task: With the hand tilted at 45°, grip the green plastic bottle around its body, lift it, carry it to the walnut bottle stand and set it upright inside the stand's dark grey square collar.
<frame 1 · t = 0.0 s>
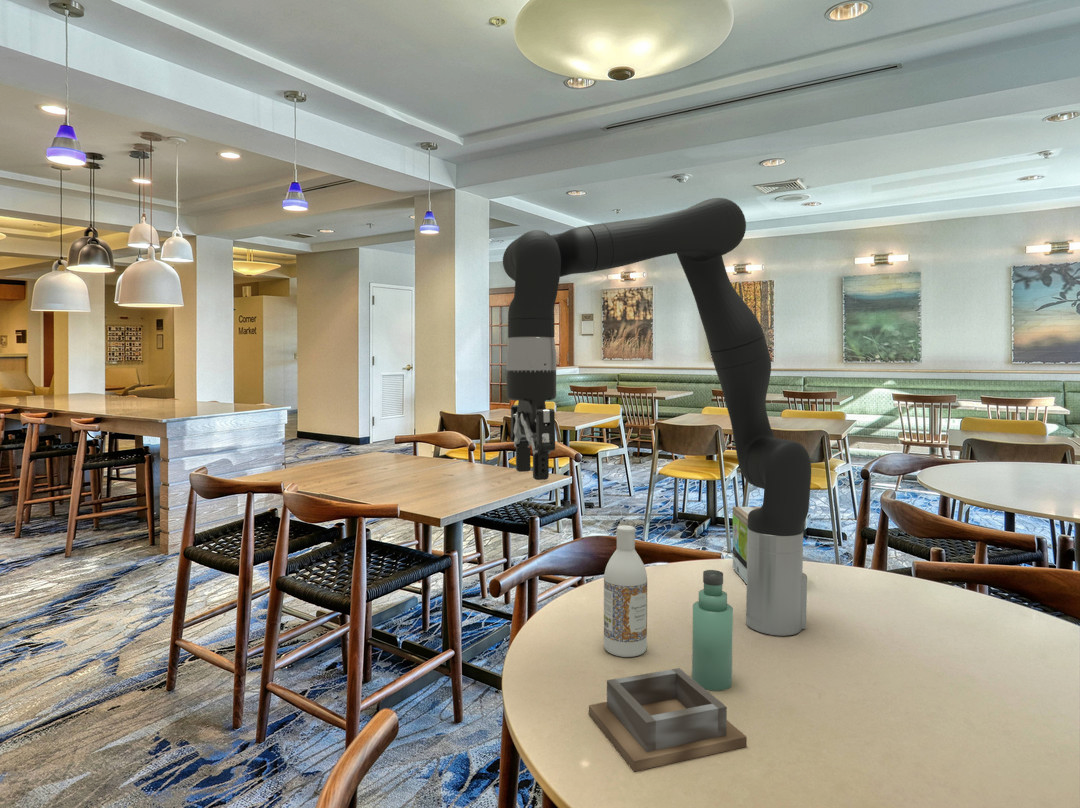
hand: (531, 475, 98), 29 cm above the table, tool pointing down, fingers open, 8 cm apart
green bottle: (711, 681, 94), on the table
bottle stand: (664, 729, 81), on the table
tea box: (763, 580, 140), on the table
bath foam: (625, 650, 105), on the table
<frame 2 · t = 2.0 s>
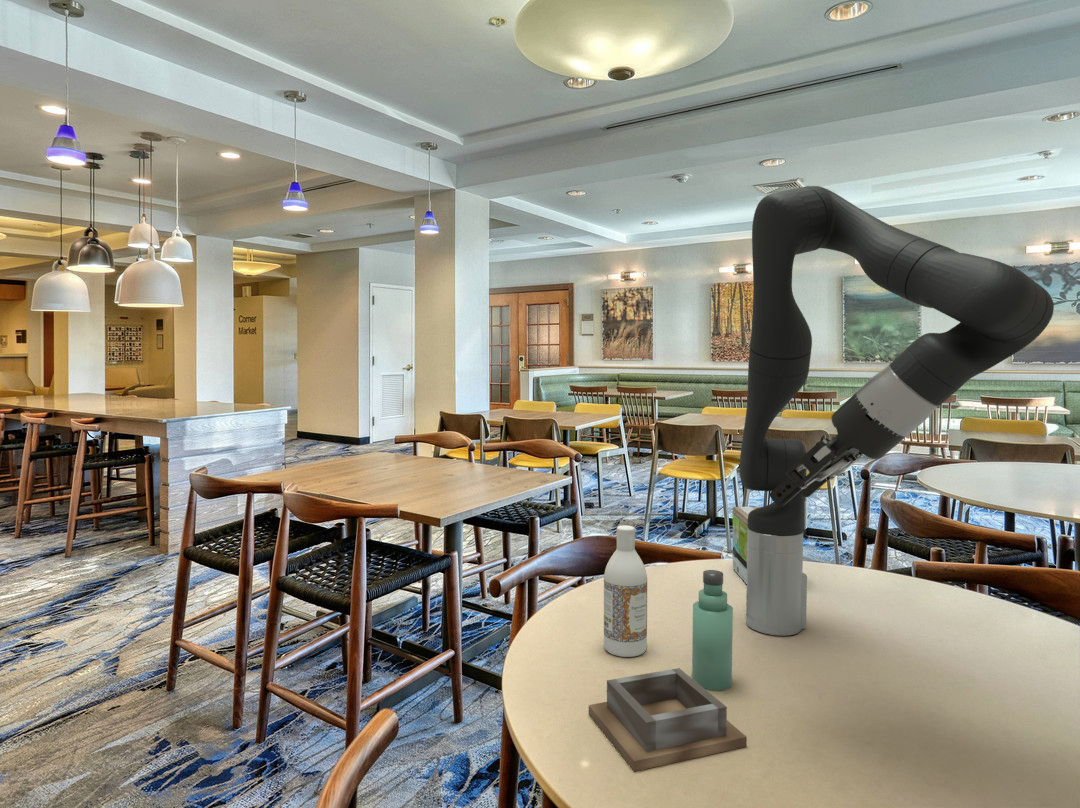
hand: (788, 496, 86), 28 cm above the table, tool tilted 45°, fingers open, 8 cm apart
nothing on the table moved.
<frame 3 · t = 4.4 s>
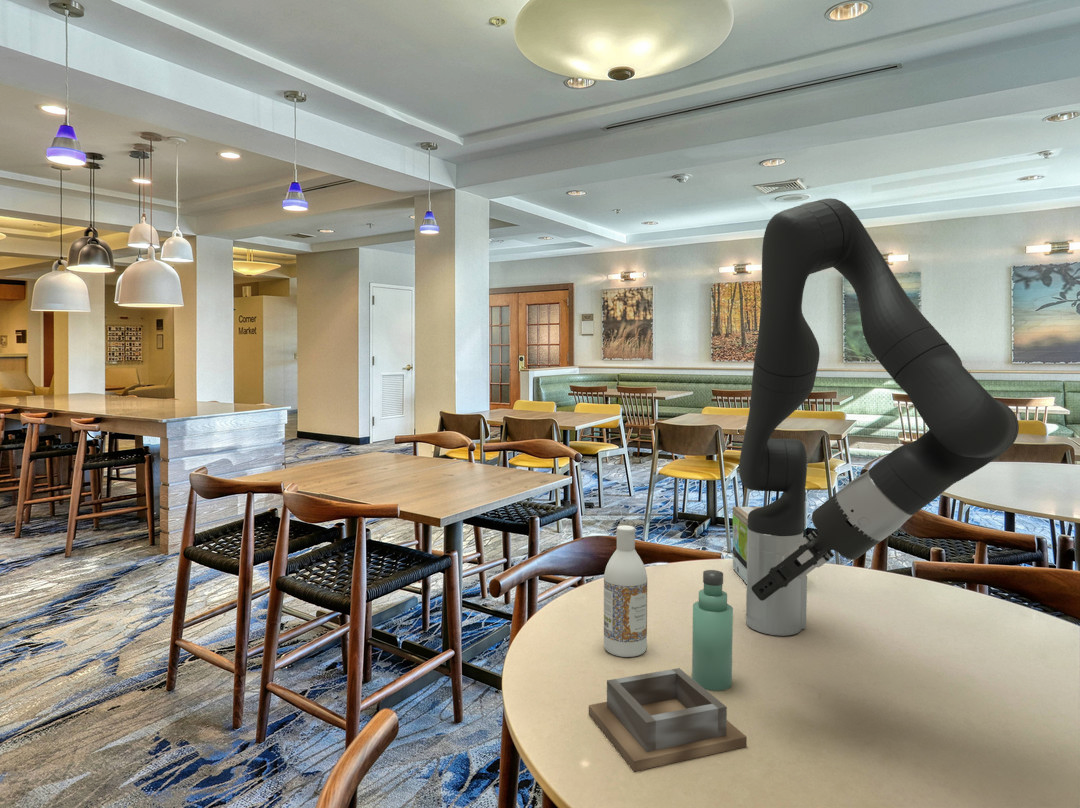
hand: (767, 585, 88), 16 cm above the table, tool tilted 45°, fingers open, 8 cm apart
nothing on the table moved.
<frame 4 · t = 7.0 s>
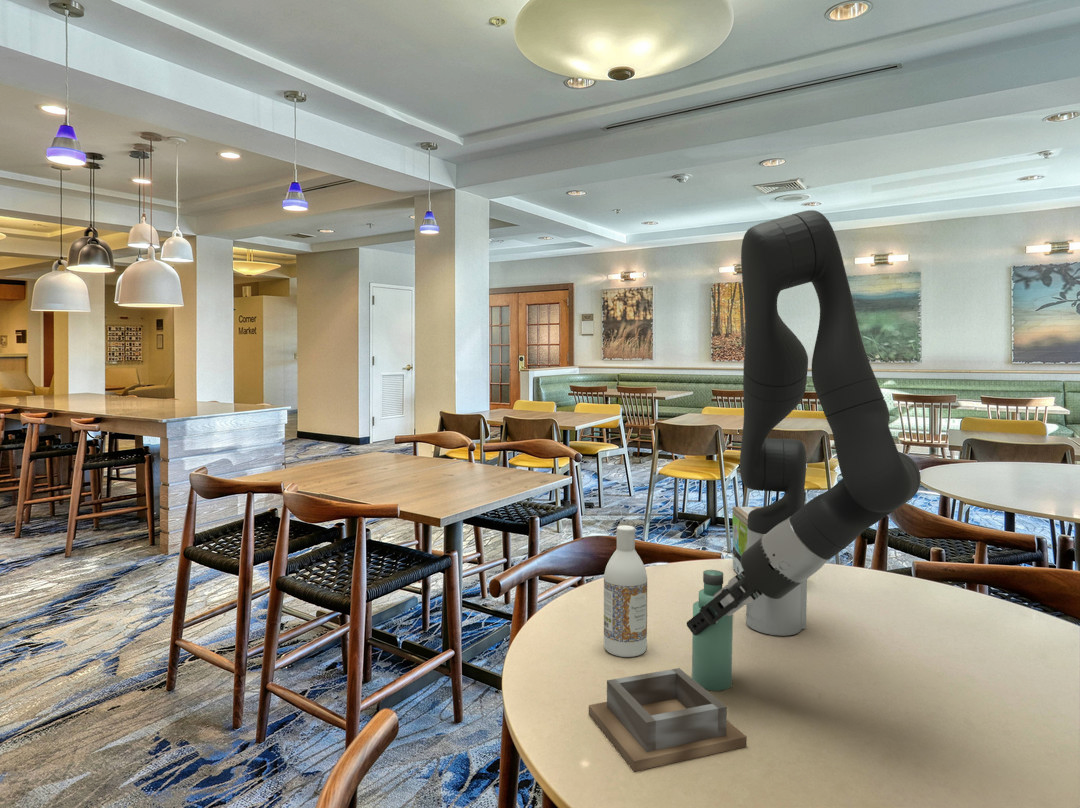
hand: (700, 622, 95), 8 cm above the table, tool tilted 45°, fingers closed on green bottle, 5 cm apart
green bottle: (711, 681, 94), on the table, touching gripper
everything else where it was.
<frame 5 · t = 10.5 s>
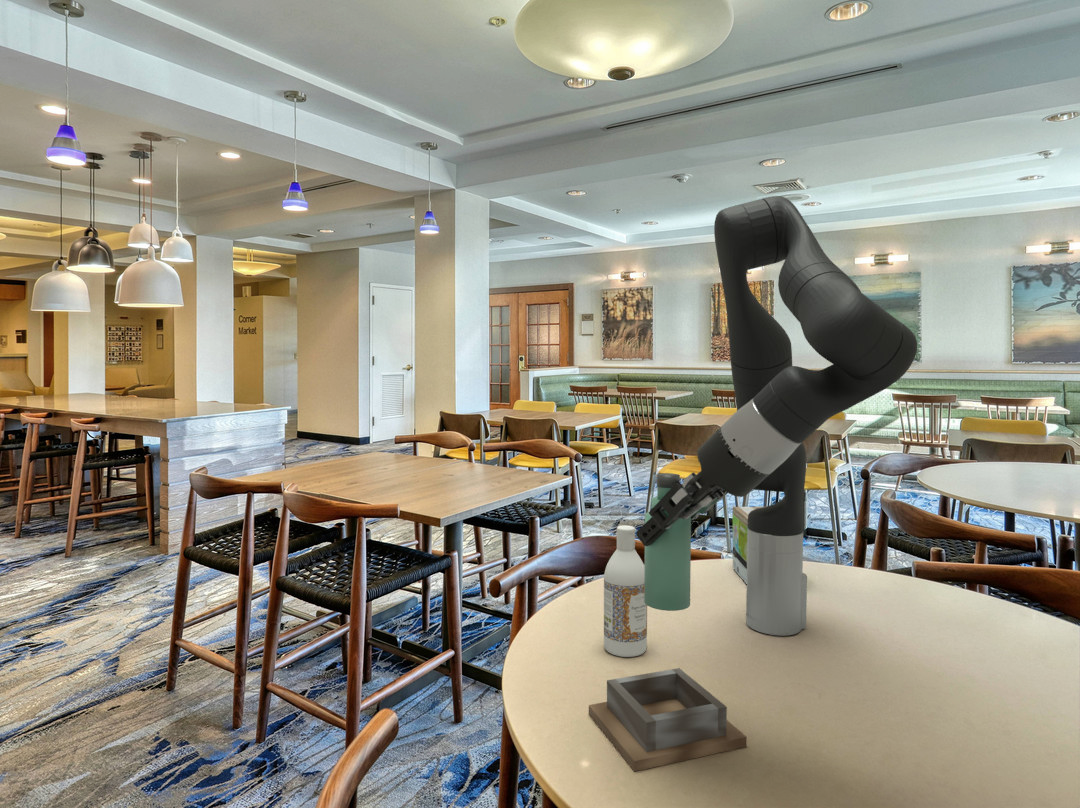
hand: (654, 534, 81), 24 cm above the table, tool tilted 45°, fingers closed on green bottle, 5 cm apart
green bottle: (667, 602, 81), point 16 cm above the table, touching gripper
everything else where it was.
when the fingers open (11 cm above the table, at t = 14.3 s): green bottle drops 1 cm, resting on bottle stand.
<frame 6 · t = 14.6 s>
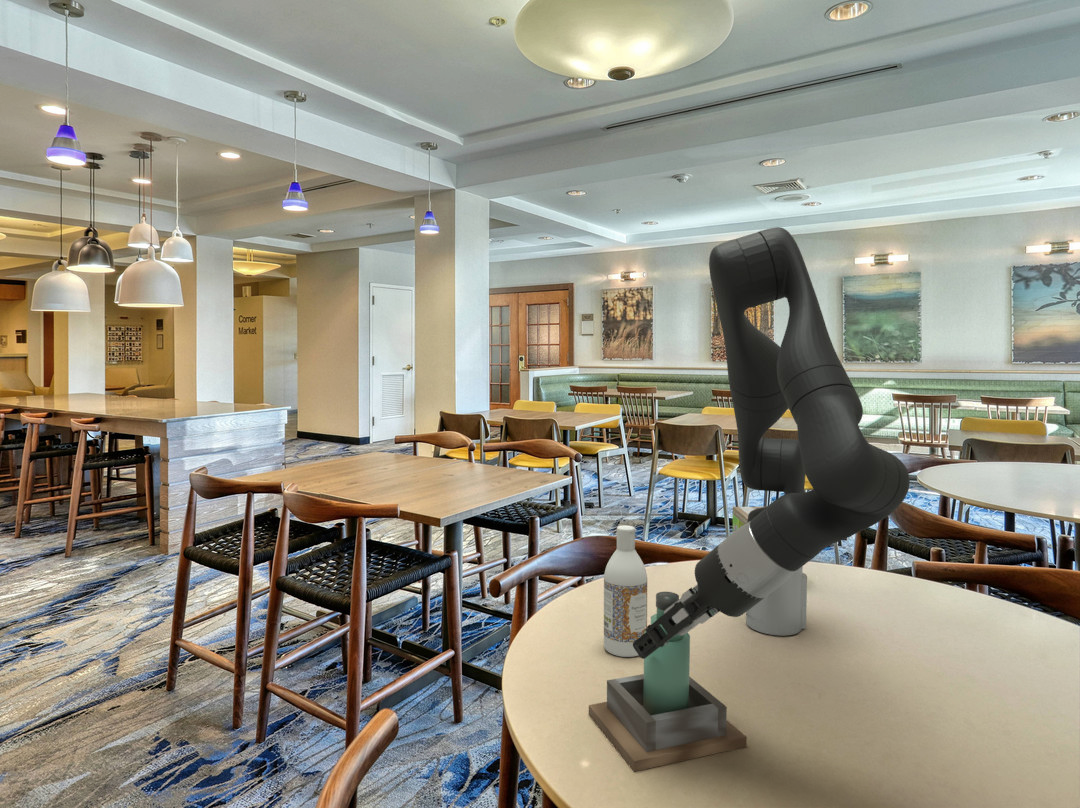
hand: (654, 640, 82), 11 cm above the table, tool tilted 45°, fingers open, 8 cm apart
green bottle: (665, 720, 81), point 1 cm above the table, touching bottle stand
everything else where it was.
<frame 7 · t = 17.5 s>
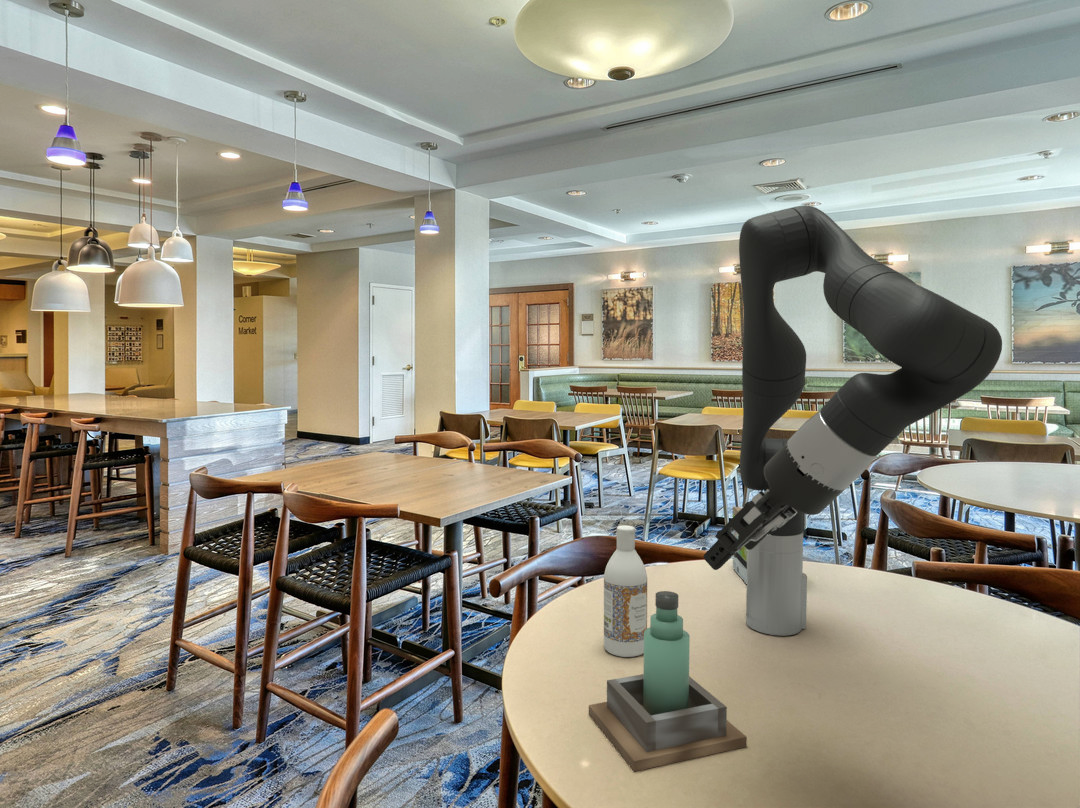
hand: (727, 553, 77), 23 cm above the table, tool tilted 40°, fingers open, 8 cm apart
nothing on the table moved.
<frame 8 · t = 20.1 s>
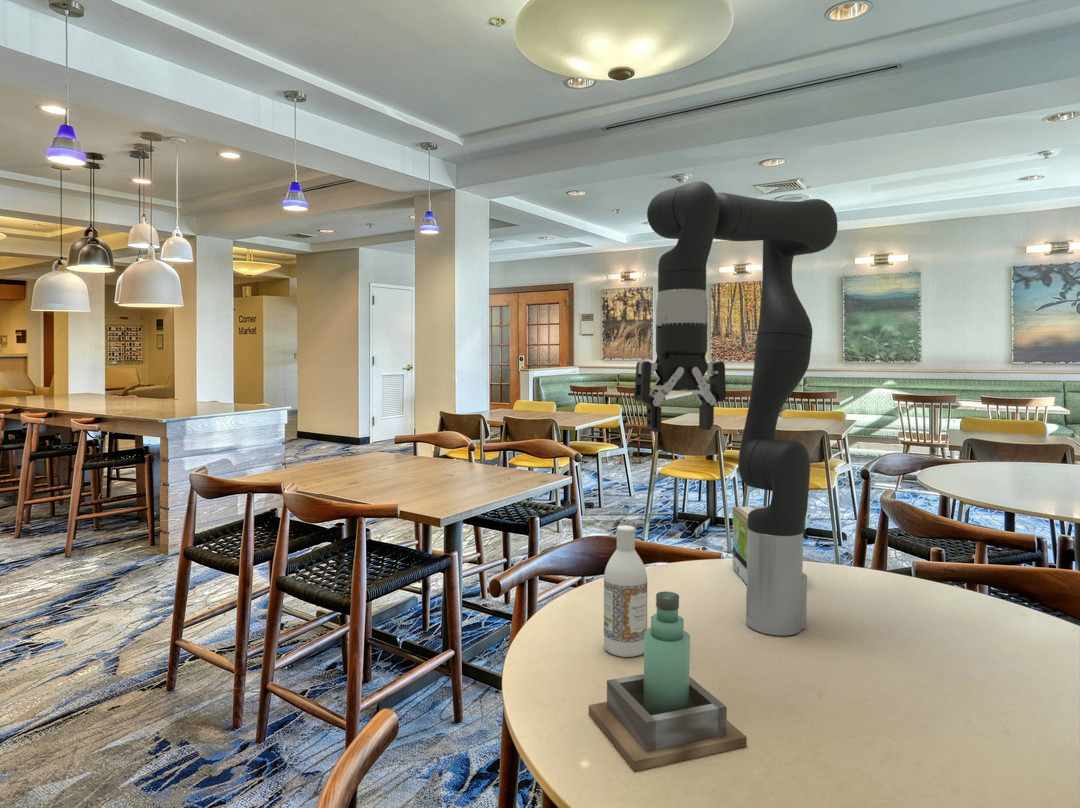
hand: (680, 430, 97), 36 cm above the table, tool pointing down, fingers open, 8 cm apart
nothing on the table moved.
at the end: green bottle 0.2 cm off-centre on the bottle stand, point 1.2 cm above the bottle stand's base; green bottle tilted 1°; the gripper is holding nothing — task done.
